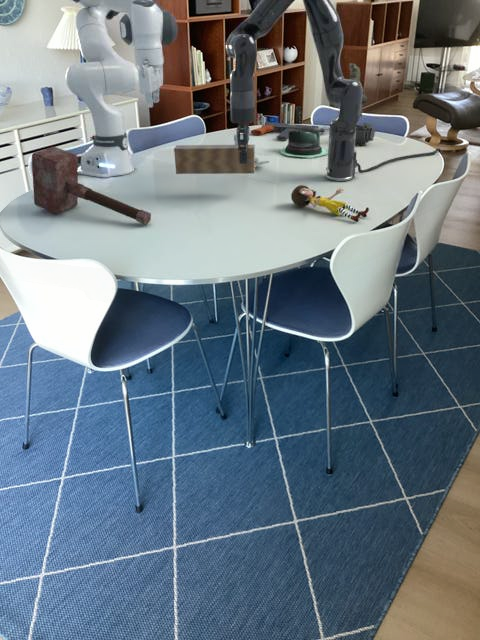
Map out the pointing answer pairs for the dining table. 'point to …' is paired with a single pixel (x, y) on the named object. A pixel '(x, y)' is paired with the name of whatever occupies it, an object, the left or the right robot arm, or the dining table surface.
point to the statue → (356, 76)
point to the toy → (364, 134)
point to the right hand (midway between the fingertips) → (243, 160)
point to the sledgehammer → (69, 186)
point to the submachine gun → (281, 129)
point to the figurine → (324, 202)
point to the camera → (255, 157)
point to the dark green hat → (304, 143)
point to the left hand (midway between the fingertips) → (153, 104)
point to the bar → (213, 159)
